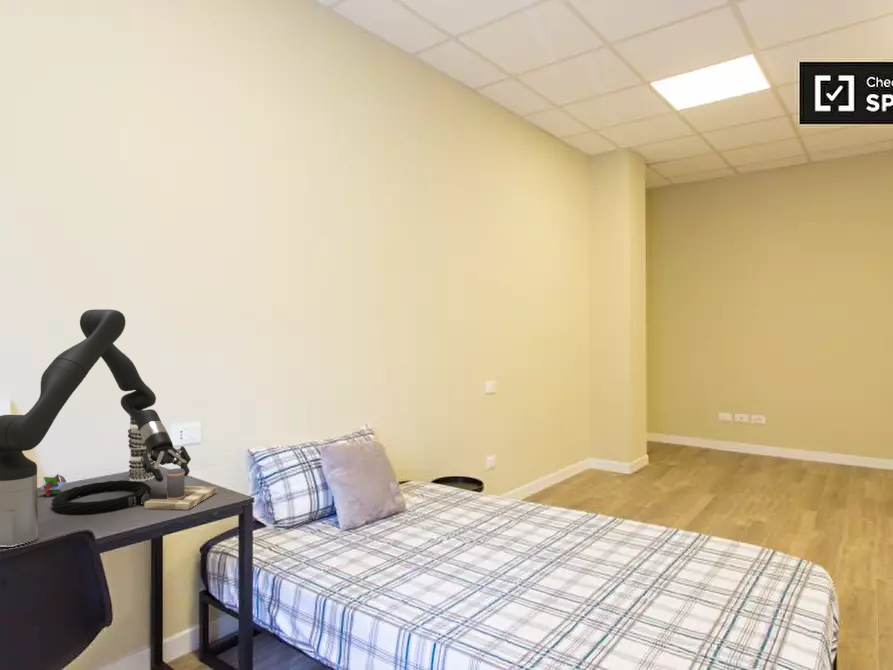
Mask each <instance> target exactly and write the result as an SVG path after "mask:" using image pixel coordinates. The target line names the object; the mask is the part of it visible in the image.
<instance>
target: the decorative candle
mask: <svg viewBox="0 0 893 670" xmlns="http://www.w3.org/2000/svg"><path fill="white" fill-rule="evenodd" d="M141 411H142V410H141ZM129 420H130V423H129V429H128V431H127V434H128V435H127V438H129V439H128V440H127V442H128V445H127V446H128V448H129V450H130V455H129V461H128V463H129V465H128V468H130V469H129V470H128V472H129V474H128V476H129V479H130V480H131V481H141V482H147V481H146V480H148V481H151V480H154V479H155V477H154V475H153V473H152V472H149V473H146V472H145V470H144V467H143V465H142V462H141V457H142V455H143V454H144V453H146V454H149V453H148V451H147V448H146V446H145V444H144V442H143V440H142V437H141V433H140V431H139V429H138V426H137V424H136V422H135V421H134V419H133V418H132V417H131V416H130V415H129ZM149 461H150V464H151V466H154V463H155V461H153V460H152V459H149ZM153 478H154V479H153ZM150 479H151V480H150ZM130 480H129V481H130Z"/></svg>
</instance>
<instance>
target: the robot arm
mask: <svg viewBox="0 0 893 670" xmlns="http://www.w3.org/2000/svg"><path fill="white" fill-rule="evenodd" d="M79 327H80V329H81V332H82V333H83V335H84V336H85V339H83V340H81V341H80V342H78V343H77V344H74V345H73V346H71V347H69V348H68V349H66V350H64V351H62V352H61V353H59V354H58V356H56V357H55V358H54V359H53V361H52V362H51V363H50V364H49V365H48V366H47V367H46V368H45V370H44V371H43V373H42V375H41V377H40V379H41V380H40V394H39V397H38V399H37V401H35V403H34V405H33V406H32V407H31V409H29V411H28V412H27V413H25V414H2V415H0V545H7V546H9V545H10V546H11V545H15V544H20V543H27V542H30V543H32V542H31V541H33V540H35V539H36V540H38V539H39V538H38V537H39V516H38V515H39V513H38V512H39V511H38V510H39V509H38V506H39V505H38V503H39V502H38V465H37V463H36V462H35V461H33V460H31V459H29V458H28V457H27V456H26V455H25V454H24V451H25V452H26V451H31V450H34V449H35V448H36V447H38V445H40V443H41V442H42V441H43V440H44V438H45V436H46V435H47V433H48V432H49V430H50V429H51V427H52V425H53V423H54V422H55V420H56V418H57V417H58V415H59V413H60V412H61V411H62V409H63V407H64V406H65V405H66V403H67V402H68V400H69V399H70V397H71V396H72V395H73V393H74V392H75V391H76V390H77V388H78V387H79V386H80V385H81V383H82V382H83V381H84V379H85V378H86V377H87V375H88V374H89V372H90V370H92V369H93V367H94V366H95V365H96V363H97V362H98V361H99V360H100V359H102V360H103V362H104V363H105V364H106V366H107V368H108V369H109V371H110V372H111V374H112V376H113V378H114V380H115V382H116V384H117V386H118V388H119V389H120V391H122V392H128V393H127V394H124V395H123V396H121V398H120V405H121V407H122V409H123V411H125V413H126V414H128V416H129V417H130V416H131V417H132V418H133V419H134V421H135V422H136V424H137V426H138V429H139V431H140V433H141V437H142V440H143V442H144V444H145V446H146V448H147V451H148V453H149V454H146V453H144V454H143V455H142V457H141V462H142V465H143V467H144V470H145V472H146V473H149V472H152V473H153V475H154V477H155V478H154V479H155V481H156V482H158V483H161V482H163V480H164V476H163V474H162V472H161V470H160V468H159V467H160V465H161V466H164V465H166V464H167V465H168V464H173V465H175V466H176V465H177V466H178V467H180V468H181V469H184V471H185V474H184V477H188V475H190V468H189V466H188V465H189V463H190V462H191V457H190V455H189V453H188V451H187V450H186V448H185V446H182V445H181V446H180V448H177V449H176V448H175V447H174V445H173V442H172V439H171V437H170V435H169V433H168V431H167V429H166V426H165V425H164V424H163V422H162V420H161V419H160V416H159V414H158V412H157V411H156V410H155V409H148V408H151V407H152V406H154V405H155V404H156V401H157V396H156V394H155V392H154V391H153V390H152V389H151V388H150V387H149V385H147V384H146V383H145V381H143V379H142V377H141V375H140V373H139V372H138V369H137V367H136V366H135V364H134V362H133V361H132V360H131V359H130V357H129V356H127V354H125V353H124V352H122V351H121V349H119V348H118V347H117V346H116V345H115V344H114V343H115V342H116V341H117V340H118V339H119V338H120V336H121V335H122V334H123V332H124V330H125V328H126V317H125V315H124V314H123V312H121V311H120V310H116V309H108V308H107V309H103V308H102V309H89V310H85V311H84V312H83V313H82V314H81V316H80V318H79ZM141 410H142V411H141ZM149 459H152V460H153V461H154V462H155V463H154V466H151V464H150V461H149ZM36 540H35V541H36ZM33 542H34V541H33ZM27 544H28V543H27Z"/></svg>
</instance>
